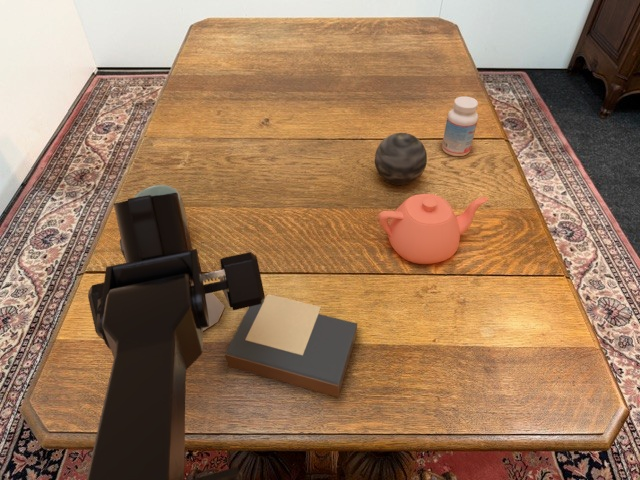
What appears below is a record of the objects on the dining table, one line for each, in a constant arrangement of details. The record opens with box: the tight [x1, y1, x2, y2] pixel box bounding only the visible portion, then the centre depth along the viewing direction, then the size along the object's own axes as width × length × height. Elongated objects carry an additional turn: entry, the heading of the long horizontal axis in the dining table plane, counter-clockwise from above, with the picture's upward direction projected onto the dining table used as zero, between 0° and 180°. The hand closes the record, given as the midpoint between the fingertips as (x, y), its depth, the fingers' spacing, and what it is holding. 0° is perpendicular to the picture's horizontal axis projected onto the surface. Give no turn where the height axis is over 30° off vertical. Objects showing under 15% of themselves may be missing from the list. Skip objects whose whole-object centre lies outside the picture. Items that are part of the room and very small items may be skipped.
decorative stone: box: [374, 132, 428, 186], centre depth 91 cm, size 10×10×10 cm
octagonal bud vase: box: [203, 292, 225, 332], centre depth 69 cm, size 7×7×10 cm
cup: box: [133, 184, 190, 233], centre depth 79 cm, size 8×8×10 cm
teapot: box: [377, 193, 489, 265], centre depth 79 cm, size 12×18×10 cm
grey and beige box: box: [224, 293, 358, 398], centre depth 67 cm, size 11×16×3 cm
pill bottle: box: [441, 95, 479, 157], centre depth 98 cm, size 6×6×11 cm
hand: (187, 287), depth 62 cm, fingers open, 9 cm apart
